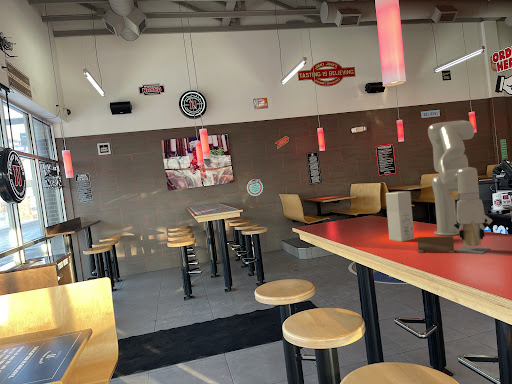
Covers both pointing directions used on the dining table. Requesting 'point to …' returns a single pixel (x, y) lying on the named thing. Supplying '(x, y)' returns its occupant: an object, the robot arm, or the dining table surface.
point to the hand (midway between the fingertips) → (472, 238)
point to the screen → (435, 244)
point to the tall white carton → (399, 216)
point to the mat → (473, 250)
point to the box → (471, 234)
